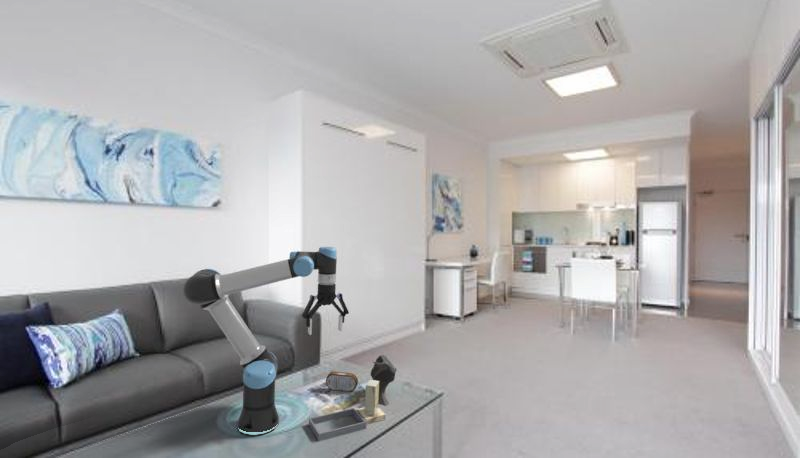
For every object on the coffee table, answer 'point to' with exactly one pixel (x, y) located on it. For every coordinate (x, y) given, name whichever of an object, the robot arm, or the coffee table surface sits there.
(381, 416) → the pad
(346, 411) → the tray
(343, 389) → the portable speaker
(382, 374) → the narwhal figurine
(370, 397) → the skincare box
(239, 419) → the robot arm
